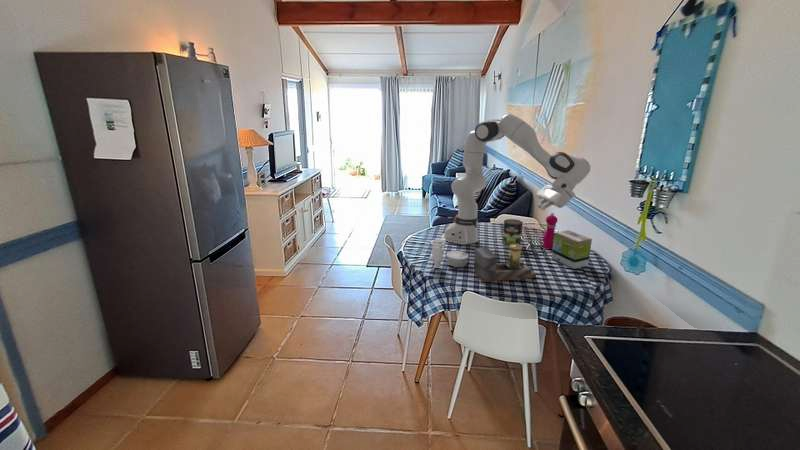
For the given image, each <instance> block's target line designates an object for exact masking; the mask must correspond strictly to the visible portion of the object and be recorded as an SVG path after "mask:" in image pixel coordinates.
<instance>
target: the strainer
mask: <svg viewBox="0 0 800 450" xmlns="http://www.w3.org/2000/svg"><path fill="white" fill-rule="evenodd" d="M430 245H431V246H432V247H431V248H432V249H431V254H430V259H431V260H433V261H434V266H435V267H437V268H439V267H442V266H441V263H442V261H444V260H445V259H446V254H445V253H444V251H445V249H444V247H446V241H445V239H441V238H439V239H437V238H435V239H431V240H430Z"/></svg>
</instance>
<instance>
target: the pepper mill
mask: <svg viewBox="0 0 800 450" xmlns="http://www.w3.org/2000/svg"><path fill="white" fill-rule="evenodd" d="M545 221H546V225H545V226H546V230H545V233H544V234H543V237H542V242H543V243H542V247H543V246H544V247H545V249H548V250H551V249H553V241H554V233H555V229H556V226H557V223H558V217H557V216H556V215H555V213H554V212H551V213H550V215H547V217H546V218H545ZM544 247H543V248H544Z"/></svg>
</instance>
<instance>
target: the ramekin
mask: <svg viewBox="0 0 800 450" xmlns="http://www.w3.org/2000/svg"><path fill="white" fill-rule="evenodd" d="M469 257H470V255H469V254H468V253H467V252H464V251H462V250H451V251H448V252H446V254H445V258H446V262H447V264H448V266H449V265H451V266H454V267H453V268H455V267H461V268H464V267H466V266H467V263H468V260H469ZM451 266H450V267H451Z"/></svg>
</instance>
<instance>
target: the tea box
mask: <svg viewBox="0 0 800 450" xmlns="http://www.w3.org/2000/svg"><path fill="white" fill-rule="evenodd" d="M592 240H593V239H592V238H590V237H587V236H585V235H582V234H580V233H577V232H574V231H572V230H570V229H568V230H562V231H557V232H554V241H553V249H552V250H551V251H552V252H551V259H552V260H555V261H557V262H559V263H561V264H563V265H565V266H567V267H569V268H571V269H572V270H575V269H580V268H585V267H588V266H589V260H590V254H591V248H592Z"/></svg>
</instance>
